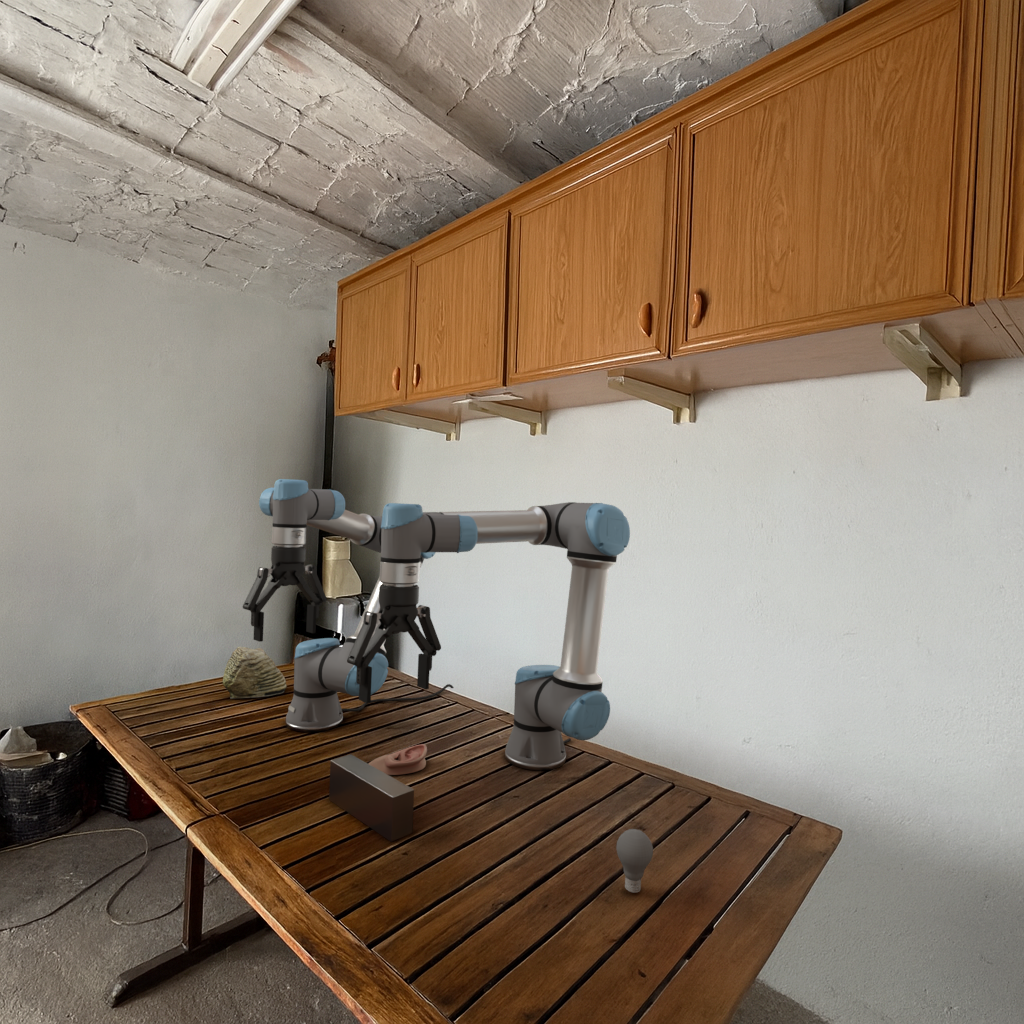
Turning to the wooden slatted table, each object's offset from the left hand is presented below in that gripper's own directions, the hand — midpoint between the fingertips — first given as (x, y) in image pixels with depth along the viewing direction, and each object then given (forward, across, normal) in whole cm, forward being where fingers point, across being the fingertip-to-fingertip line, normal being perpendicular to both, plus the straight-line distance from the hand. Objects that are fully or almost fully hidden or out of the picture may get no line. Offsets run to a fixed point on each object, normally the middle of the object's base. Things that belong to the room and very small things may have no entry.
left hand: (285, 636), depth 148 cm
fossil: (+30, +22, +52) cm, 64 cm away
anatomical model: (+30, +18, -20) cm, 41 cm away
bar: (+30, -1, -34) cm, 45 cm away
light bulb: (+30, +13, -85) cm, 91 cm away
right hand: (+4, -2, -40) cm, 41 cm away
